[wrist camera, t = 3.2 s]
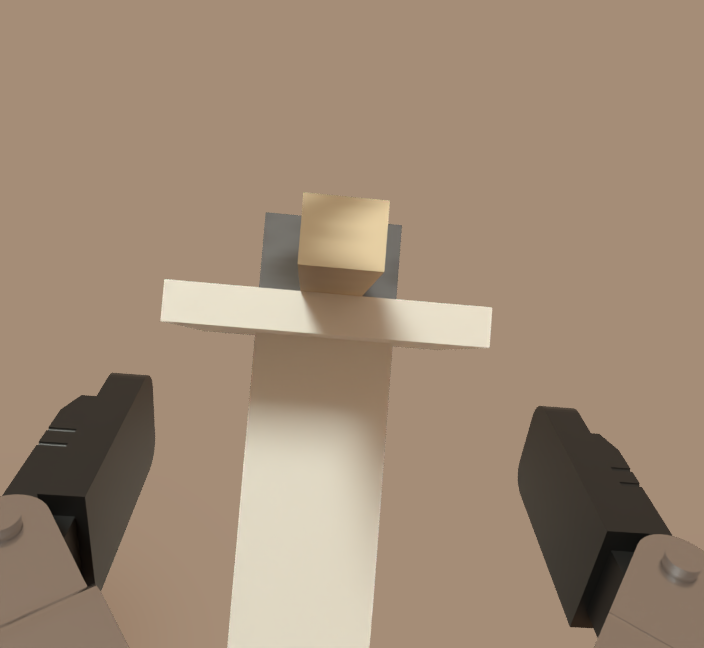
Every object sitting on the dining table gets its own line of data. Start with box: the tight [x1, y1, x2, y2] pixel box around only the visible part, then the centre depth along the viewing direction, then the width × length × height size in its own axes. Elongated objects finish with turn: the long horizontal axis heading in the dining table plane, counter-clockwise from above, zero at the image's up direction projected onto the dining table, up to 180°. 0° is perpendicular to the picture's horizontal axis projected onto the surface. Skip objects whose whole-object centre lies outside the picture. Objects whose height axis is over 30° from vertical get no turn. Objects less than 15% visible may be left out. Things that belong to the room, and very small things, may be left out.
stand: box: [161, 279, 492, 648], centre depth 36 cm, size 16×13×32 cm
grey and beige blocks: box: [259, 192, 402, 299], centre depth 32 cm, size 8×21×5 cm, turn 4°
